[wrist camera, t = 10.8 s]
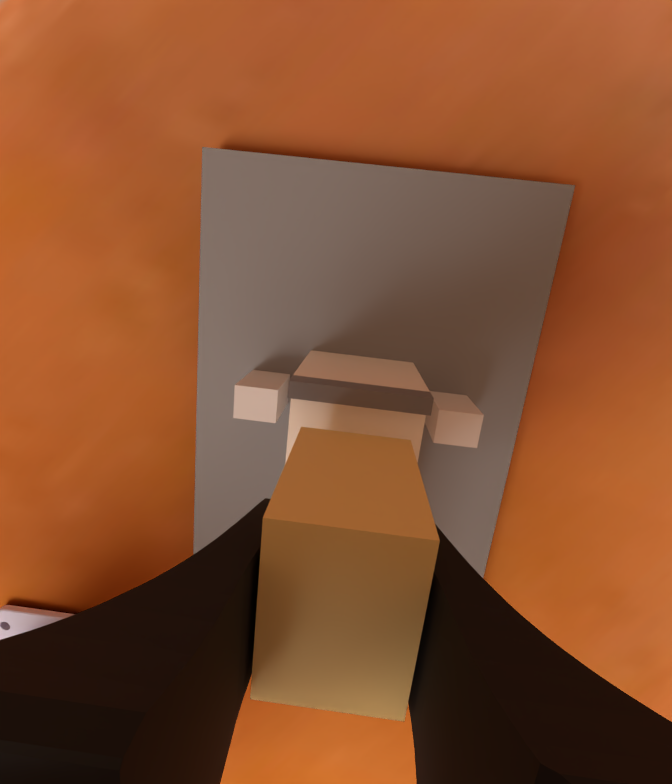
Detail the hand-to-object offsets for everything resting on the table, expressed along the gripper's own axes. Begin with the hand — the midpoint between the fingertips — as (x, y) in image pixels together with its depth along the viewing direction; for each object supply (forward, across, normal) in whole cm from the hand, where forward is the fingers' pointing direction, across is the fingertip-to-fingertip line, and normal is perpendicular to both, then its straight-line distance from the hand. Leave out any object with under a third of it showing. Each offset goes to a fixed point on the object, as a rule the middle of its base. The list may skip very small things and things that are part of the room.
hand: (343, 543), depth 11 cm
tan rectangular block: (+2, 0, 0) cm, 2 cm away
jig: (+8, 0, 0) cm, 8 cm away
